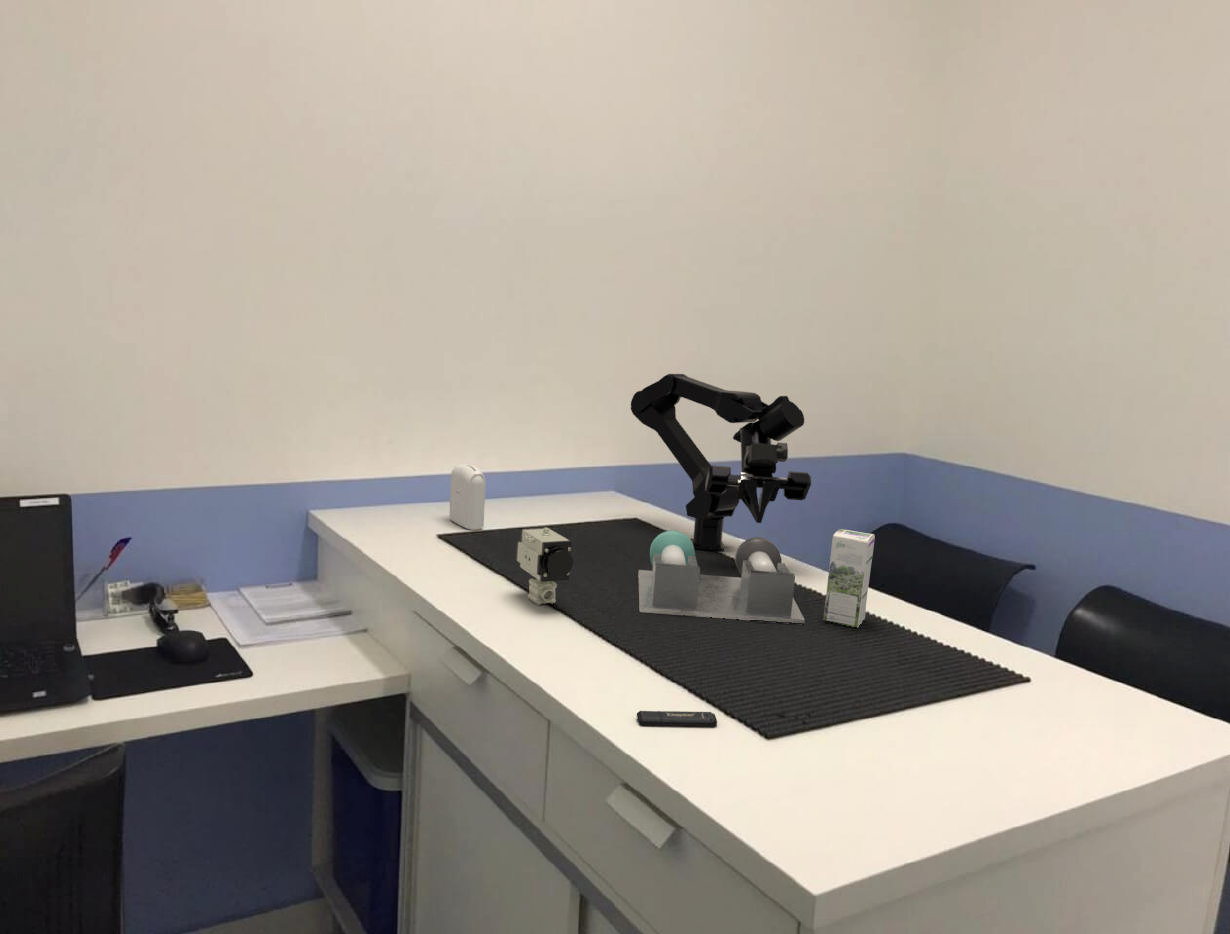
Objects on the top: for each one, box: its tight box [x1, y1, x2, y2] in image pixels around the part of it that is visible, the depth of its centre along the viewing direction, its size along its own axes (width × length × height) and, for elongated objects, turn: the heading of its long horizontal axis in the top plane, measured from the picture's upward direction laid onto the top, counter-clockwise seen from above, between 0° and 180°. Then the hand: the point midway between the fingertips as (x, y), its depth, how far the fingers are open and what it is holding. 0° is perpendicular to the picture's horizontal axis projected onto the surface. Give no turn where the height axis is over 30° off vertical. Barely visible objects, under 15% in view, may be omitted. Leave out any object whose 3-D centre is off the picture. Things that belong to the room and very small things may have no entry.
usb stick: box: [636, 710, 718, 728], centre depth 123 cm, size 10×3×2 cm, turn 97°
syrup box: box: [822, 528, 876, 629], centre depth 165 cm, size 6×6×14 cm
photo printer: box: [449, 463, 487, 531], centre depth 209 cm, size 10×4×12 cm, turn 32°
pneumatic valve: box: [515, 527, 574, 606], centre depth 163 cm, size 6×12×12 cm, turn 29°
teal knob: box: [649, 530, 696, 567], centre depth 175 cm, size 11×8×8 cm
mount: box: [637, 553, 806, 624], centre depth 173 cm, size 22×26×7 cm
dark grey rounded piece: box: [734, 536, 783, 577], centre depth 175 cm, size 11×8×8 cm
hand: (759, 521), depth 186 cm, fingers closed
